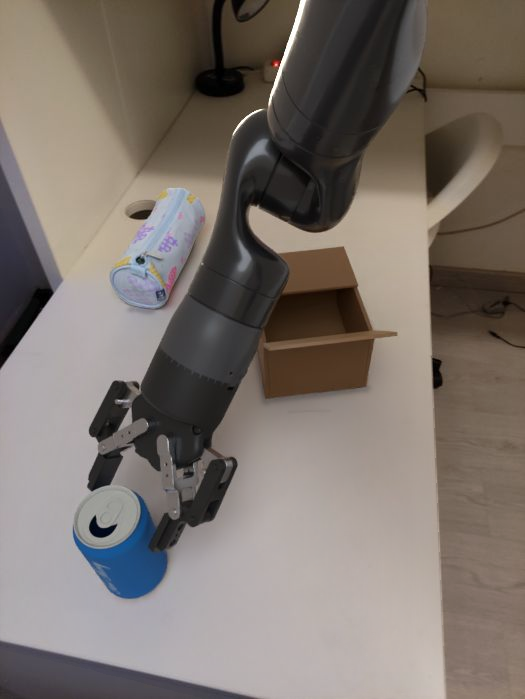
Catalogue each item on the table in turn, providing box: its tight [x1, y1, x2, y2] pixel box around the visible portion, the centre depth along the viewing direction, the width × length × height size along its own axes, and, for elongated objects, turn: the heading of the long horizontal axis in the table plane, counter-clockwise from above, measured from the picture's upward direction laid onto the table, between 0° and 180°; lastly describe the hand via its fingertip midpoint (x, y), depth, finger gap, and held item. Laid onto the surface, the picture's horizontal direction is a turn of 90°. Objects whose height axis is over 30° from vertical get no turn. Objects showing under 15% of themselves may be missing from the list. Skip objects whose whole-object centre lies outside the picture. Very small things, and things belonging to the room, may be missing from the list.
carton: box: [257, 246, 375, 400], centre depth 70 cm, size 16×13×10 cm
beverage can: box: [72, 484, 168, 600], centre depth 50 cm, size 6×6×12 cm
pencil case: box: [109, 187, 206, 310], centre depth 82 cm, size 21×9×10 cm, turn 166°
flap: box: [263, 329, 399, 351], centre depth 57 cm, size 8×13×1 cm
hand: (126, 518), depth 48 cm, fingers open, 8 cm apart
